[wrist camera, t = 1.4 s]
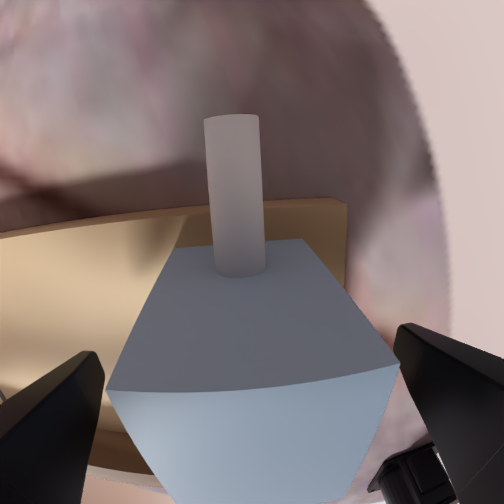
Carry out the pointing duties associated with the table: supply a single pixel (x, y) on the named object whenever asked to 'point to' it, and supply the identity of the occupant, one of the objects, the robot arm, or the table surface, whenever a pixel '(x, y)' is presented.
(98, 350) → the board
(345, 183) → the table surface
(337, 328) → the block
